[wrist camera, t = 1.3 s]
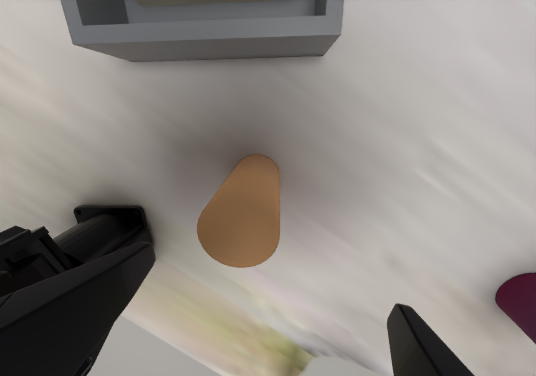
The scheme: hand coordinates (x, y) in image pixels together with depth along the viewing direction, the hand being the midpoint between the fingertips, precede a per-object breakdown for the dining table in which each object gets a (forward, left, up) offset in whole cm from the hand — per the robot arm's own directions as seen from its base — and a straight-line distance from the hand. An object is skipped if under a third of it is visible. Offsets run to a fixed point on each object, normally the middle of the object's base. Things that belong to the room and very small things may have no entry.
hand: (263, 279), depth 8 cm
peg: (-1, 0, -12) cm, 12 cm away
